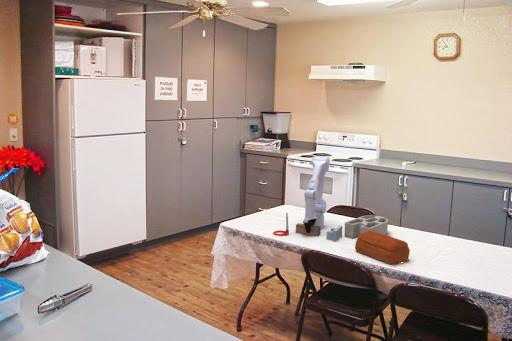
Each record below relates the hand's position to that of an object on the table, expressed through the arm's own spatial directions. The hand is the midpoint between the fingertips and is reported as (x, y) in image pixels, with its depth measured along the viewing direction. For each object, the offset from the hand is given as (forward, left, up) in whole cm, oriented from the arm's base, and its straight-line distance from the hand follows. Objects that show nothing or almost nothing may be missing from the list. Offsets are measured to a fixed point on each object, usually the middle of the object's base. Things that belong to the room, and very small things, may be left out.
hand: (309, 231), depth 285 cm
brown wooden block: (0, -1, -1) cm, 2 cm away
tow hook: (+8, -15, -2) cm, 17 cm away
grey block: (0, +16, -1) cm, 16 cm away
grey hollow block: (-17, +31, -2) cm, 35 cm away
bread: (+17, +46, -2) cm, 49 cm away
